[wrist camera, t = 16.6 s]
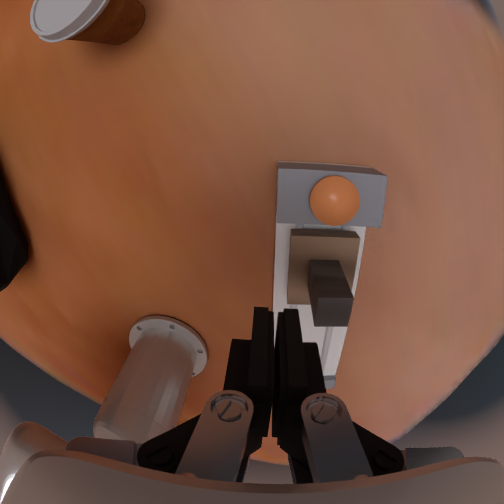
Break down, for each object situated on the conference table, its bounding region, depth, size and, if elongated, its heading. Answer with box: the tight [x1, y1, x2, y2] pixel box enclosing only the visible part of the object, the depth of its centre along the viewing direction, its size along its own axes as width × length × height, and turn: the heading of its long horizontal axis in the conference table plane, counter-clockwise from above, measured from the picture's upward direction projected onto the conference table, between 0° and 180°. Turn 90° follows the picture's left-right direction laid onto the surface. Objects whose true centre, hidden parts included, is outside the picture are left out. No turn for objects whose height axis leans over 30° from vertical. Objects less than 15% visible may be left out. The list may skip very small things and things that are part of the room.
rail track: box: [273, 161, 387, 388], centre depth 34 cm, size 32×10×6 cm, turn 0°
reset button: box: [309, 175, 360, 226], centre depth 25 cm, size 4×4×2 cm
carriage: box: [287, 229, 360, 327], centre depth 28 cm, size 8×7×9 cm
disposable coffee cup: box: [30, 0, 145, 45], centre depth 18 cm, size 10×10×12 cm
